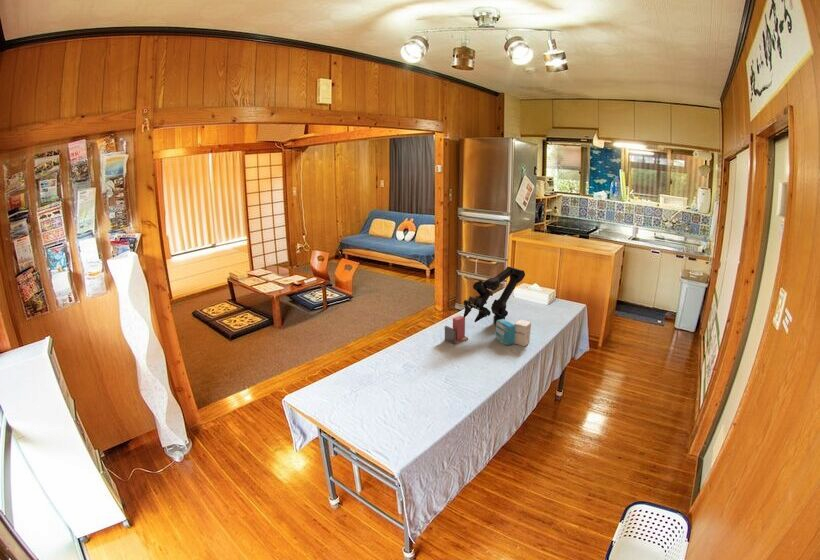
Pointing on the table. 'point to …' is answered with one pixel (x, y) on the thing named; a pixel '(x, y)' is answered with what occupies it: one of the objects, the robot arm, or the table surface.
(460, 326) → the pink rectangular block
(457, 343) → the tan flat rectangular slab
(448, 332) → the metal bookend
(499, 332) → the data package
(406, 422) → the table surface
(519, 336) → the supplement box
